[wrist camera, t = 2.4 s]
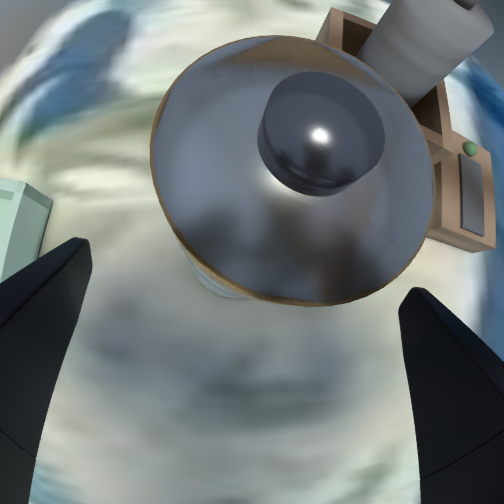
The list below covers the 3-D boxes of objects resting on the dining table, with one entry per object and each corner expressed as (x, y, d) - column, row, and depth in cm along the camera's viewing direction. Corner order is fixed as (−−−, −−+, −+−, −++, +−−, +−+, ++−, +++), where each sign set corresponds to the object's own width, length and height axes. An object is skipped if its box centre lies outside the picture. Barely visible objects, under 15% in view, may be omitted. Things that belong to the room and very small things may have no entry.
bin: (398, 185, 20) (548, 95, 7) (289, 150, 19) (394, -17, 6) (398, 97, 21) (499, -5, 8) (304, 62, 20) (375, -79, 7)
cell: (269, 307, 18) (454, 331, 4) (178, 287, 17) (90, 257, 3) (286, 219, 19) (448, 70, 5) (199, 199, 18) (203, -14, 4)
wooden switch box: (473, 252, 21) (503, 246, 17) (418, 234, 20) (450, 223, 17) (471, 162, 22) (497, 149, 19) (419, 136, 21) (445, 117, 18)
